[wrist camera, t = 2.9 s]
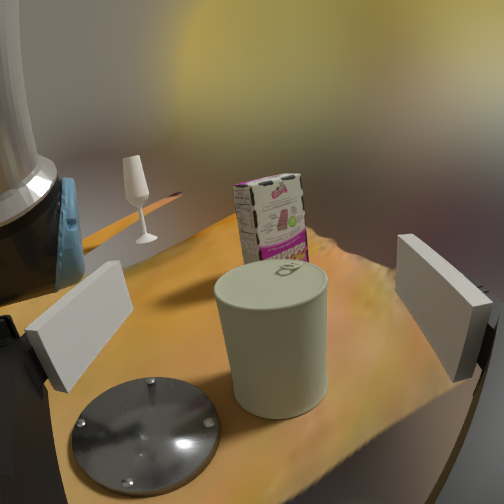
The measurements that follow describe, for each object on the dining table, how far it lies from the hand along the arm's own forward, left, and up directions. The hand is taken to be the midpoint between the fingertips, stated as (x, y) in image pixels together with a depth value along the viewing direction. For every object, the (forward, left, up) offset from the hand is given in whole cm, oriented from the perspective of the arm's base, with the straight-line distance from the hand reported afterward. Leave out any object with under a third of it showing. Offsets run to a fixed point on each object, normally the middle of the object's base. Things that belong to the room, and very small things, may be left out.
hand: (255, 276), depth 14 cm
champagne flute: (-26, +73, -17) cm, 79 cm away
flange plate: (-11, +5, -16) cm, 21 cm away
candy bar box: (+6, +37, -17) cm, 41 cm away
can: (+2, +10, -17) cm, 19 cm away
